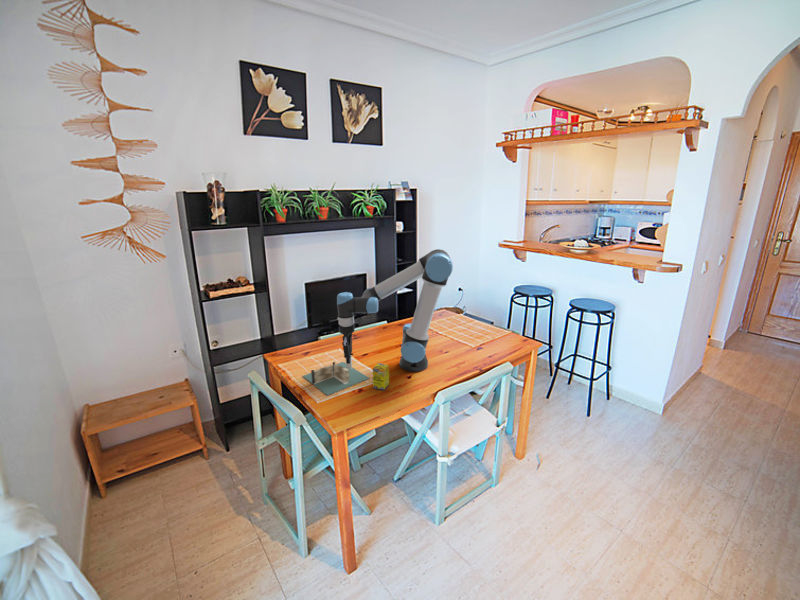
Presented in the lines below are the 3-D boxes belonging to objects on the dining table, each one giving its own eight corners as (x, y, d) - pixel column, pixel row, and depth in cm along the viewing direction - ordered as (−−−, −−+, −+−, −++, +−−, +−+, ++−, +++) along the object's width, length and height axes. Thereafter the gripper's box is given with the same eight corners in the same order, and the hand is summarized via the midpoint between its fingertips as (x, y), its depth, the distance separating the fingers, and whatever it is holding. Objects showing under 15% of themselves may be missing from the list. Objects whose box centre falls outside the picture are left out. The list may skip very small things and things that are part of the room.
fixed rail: (331, 375, 189) (330, 363, 187) (333, 376, 188) (332, 364, 186) (311, 382, 182) (310, 370, 180) (313, 384, 181) (312, 371, 179)
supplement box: (372, 388, 178) (372, 368, 174) (378, 382, 183) (377, 362, 180) (384, 391, 176) (384, 370, 172) (389, 385, 181) (389, 364, 178)
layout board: (369, 378, 187) (369, 377, 187) (327, 395, 172) (327, 394, 172) (343, 362, 204) (342, 361, 204) (302, 376, 189) (302, 375, 189)
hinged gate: (332, 374, 189) (331, 362, 187) (334, 373, 190) (334, 361, 188) (347, 382, 182) (346, 369, 180) (349, 381, 183) (349, 368, 181)
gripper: (341, 319, 188) (344, 362, 195) (335, 329, 176) (339, 374, 183) (356, 319, 187) (358, 362, 194) (351, 329, 175) (354, 374, 182)
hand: (349, 368), depth 188 cm, fingers closed
